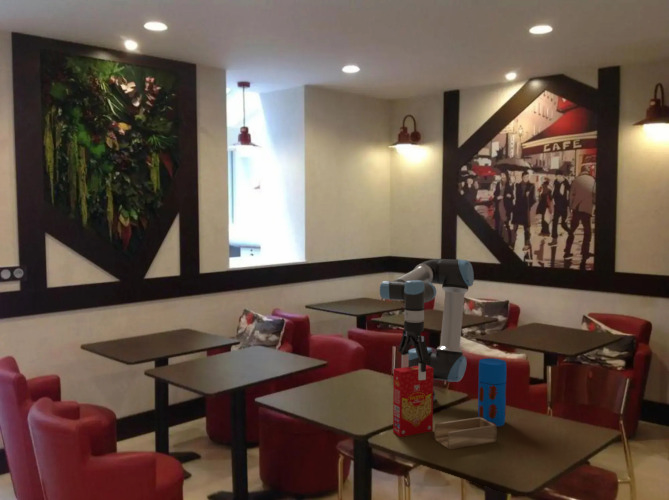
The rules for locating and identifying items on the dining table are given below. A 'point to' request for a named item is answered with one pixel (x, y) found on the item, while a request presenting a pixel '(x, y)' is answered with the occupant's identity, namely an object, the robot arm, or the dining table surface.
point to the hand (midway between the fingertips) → (413, 375)
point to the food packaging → (412, 401)
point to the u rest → (465, 432)
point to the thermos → (492, 390)
